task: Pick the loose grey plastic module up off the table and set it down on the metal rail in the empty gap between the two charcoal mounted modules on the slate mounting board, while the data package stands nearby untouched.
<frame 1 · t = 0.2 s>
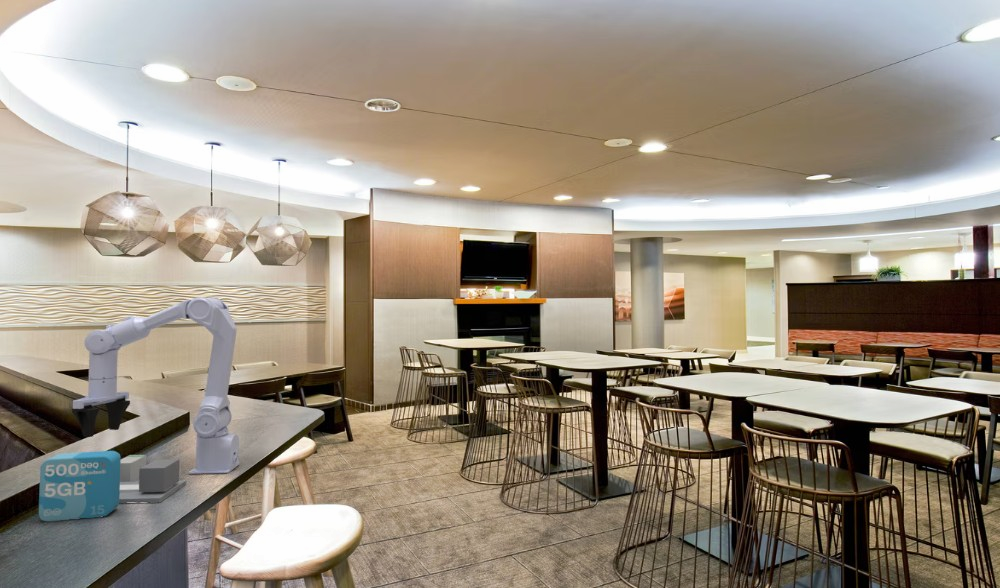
hand: (101, 433, 135), 10 cm above the worktop, tool pointing down, fingers open, 7 cm apart
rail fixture: (125, 494, 120), on the worktop
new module: (129, 480, 130), on the worktop
data package: (80, 516, 108), on the worktop
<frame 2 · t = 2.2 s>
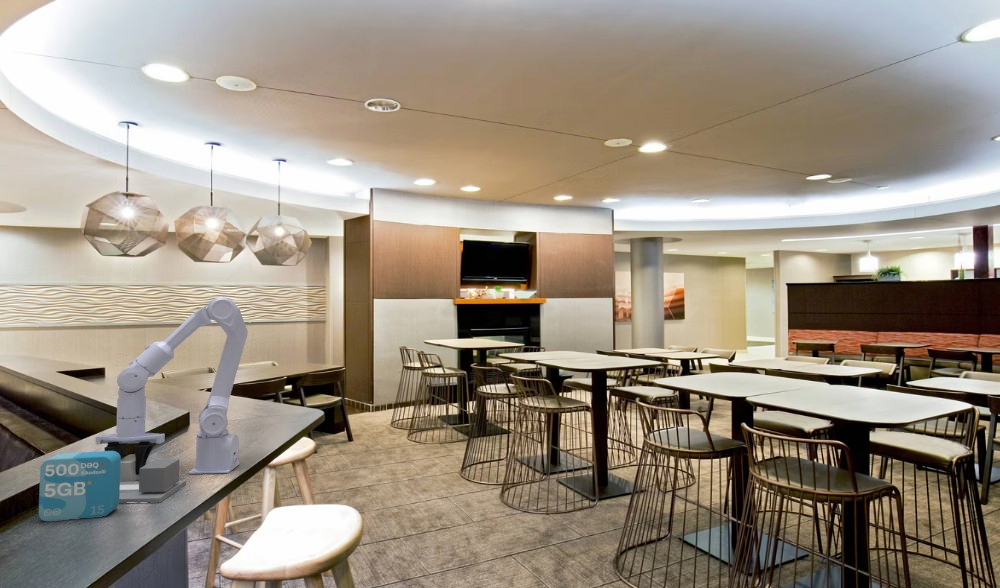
hand: (129, 473, 130), 1 cm above the worktop, tool pointing down, fingers closed on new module, 4 cm apart
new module: (129, 479, 130), on the worktop, touching gripper
everything else where it was.
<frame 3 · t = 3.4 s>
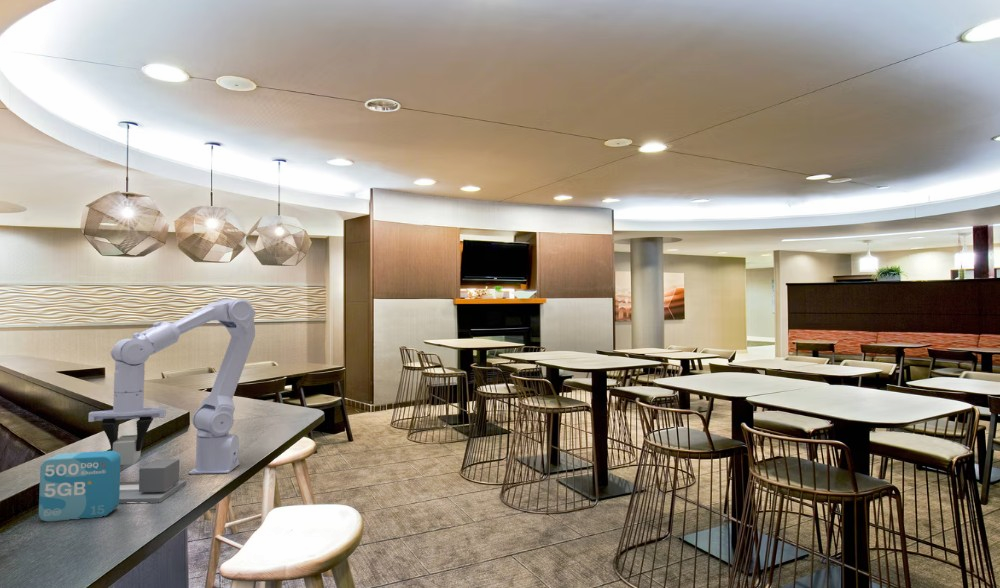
hand: (126, 451, 124), 8 cm above the worktop, tool pointing down, fingers closed on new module, 4 cm apart
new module: (126, 460, 124), point 6 cm above the worktop, touching gripper
everything else where it was.
when the fingers open (5 cm above the worktop, at t = 4.8 s): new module stays where it is, resting on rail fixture.
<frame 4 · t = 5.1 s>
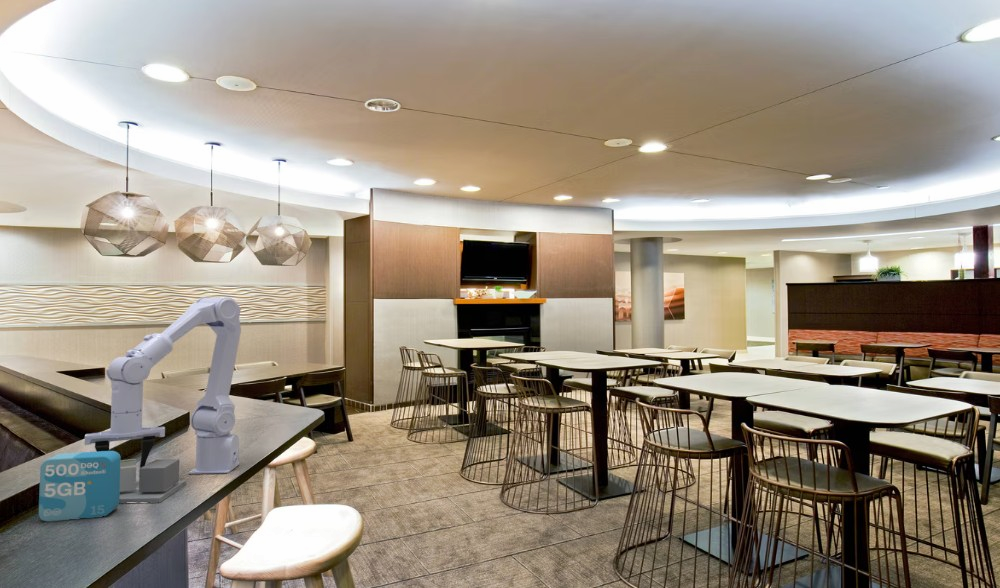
hand: (124, 473, 120), 5 cm above the worktop, tool pointing down, fingers open, 6 cm apart
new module: (124, 486, 120), point 2 cm above the worktop, touching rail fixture
everything else where it was.
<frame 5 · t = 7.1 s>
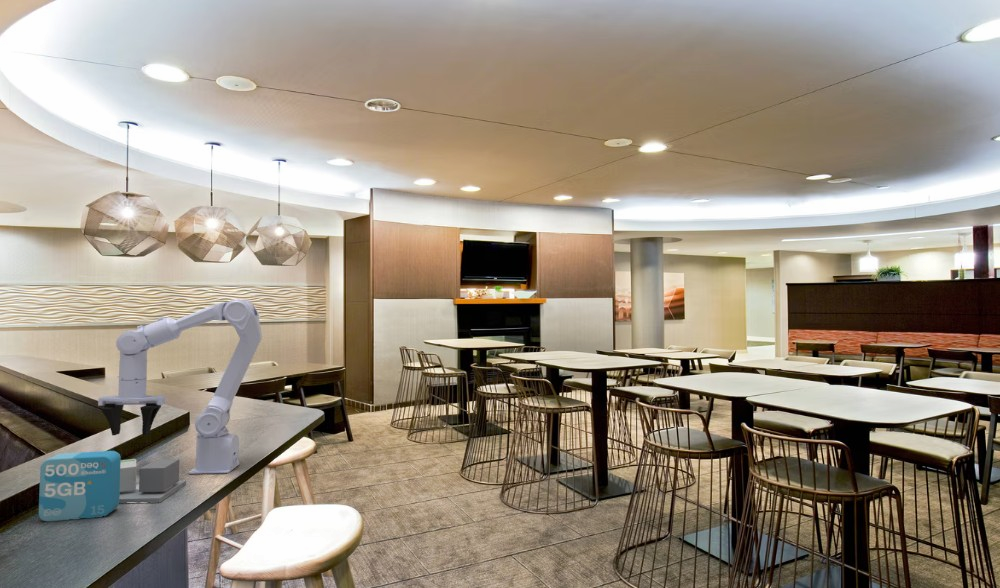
hand: (131, 434, 134), 10 cm above the worktop, tool pointing down, fingers open, 6 cm apart
nothing on the worktop moved.
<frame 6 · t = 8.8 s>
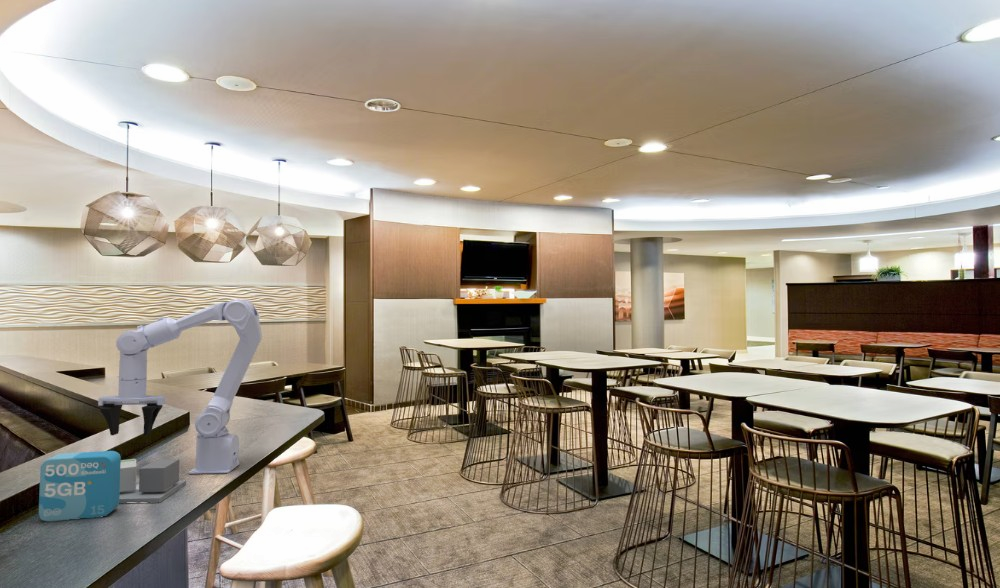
hand: (131, 434, 134), 10 cm above the worktop, tool pointing down, fingers open, 7 cm apart
nothing on the worktop moved.
at the end: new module 0.3 cm off-centre on the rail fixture, point 1.6 cm above the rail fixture's base; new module tilted 0°; the gripper is holding nothing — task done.
